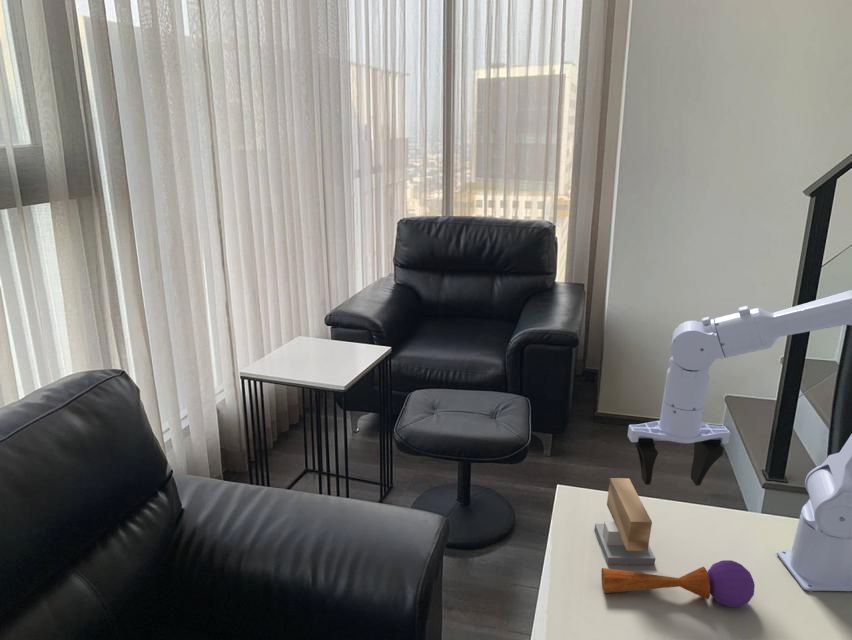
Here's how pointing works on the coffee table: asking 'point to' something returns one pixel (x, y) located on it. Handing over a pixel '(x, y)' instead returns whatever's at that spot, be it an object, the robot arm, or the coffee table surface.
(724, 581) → the kendama
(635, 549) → the oak bar
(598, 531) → the balance stand
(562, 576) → the coffee table surface
